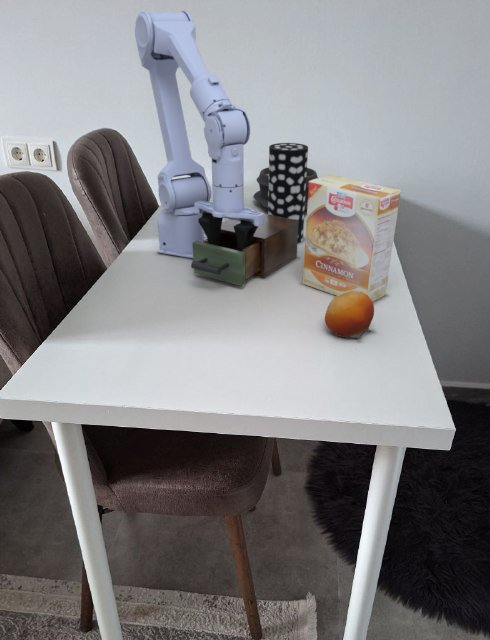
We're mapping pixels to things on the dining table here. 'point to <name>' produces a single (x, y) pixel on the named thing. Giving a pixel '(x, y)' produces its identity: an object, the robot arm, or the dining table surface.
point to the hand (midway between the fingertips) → (229, 255)
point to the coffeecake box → (349, 236)
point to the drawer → (226, 260)
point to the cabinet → (271, 241)
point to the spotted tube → (288, 182)
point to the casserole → (264, 180)
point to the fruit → (350, 314)
